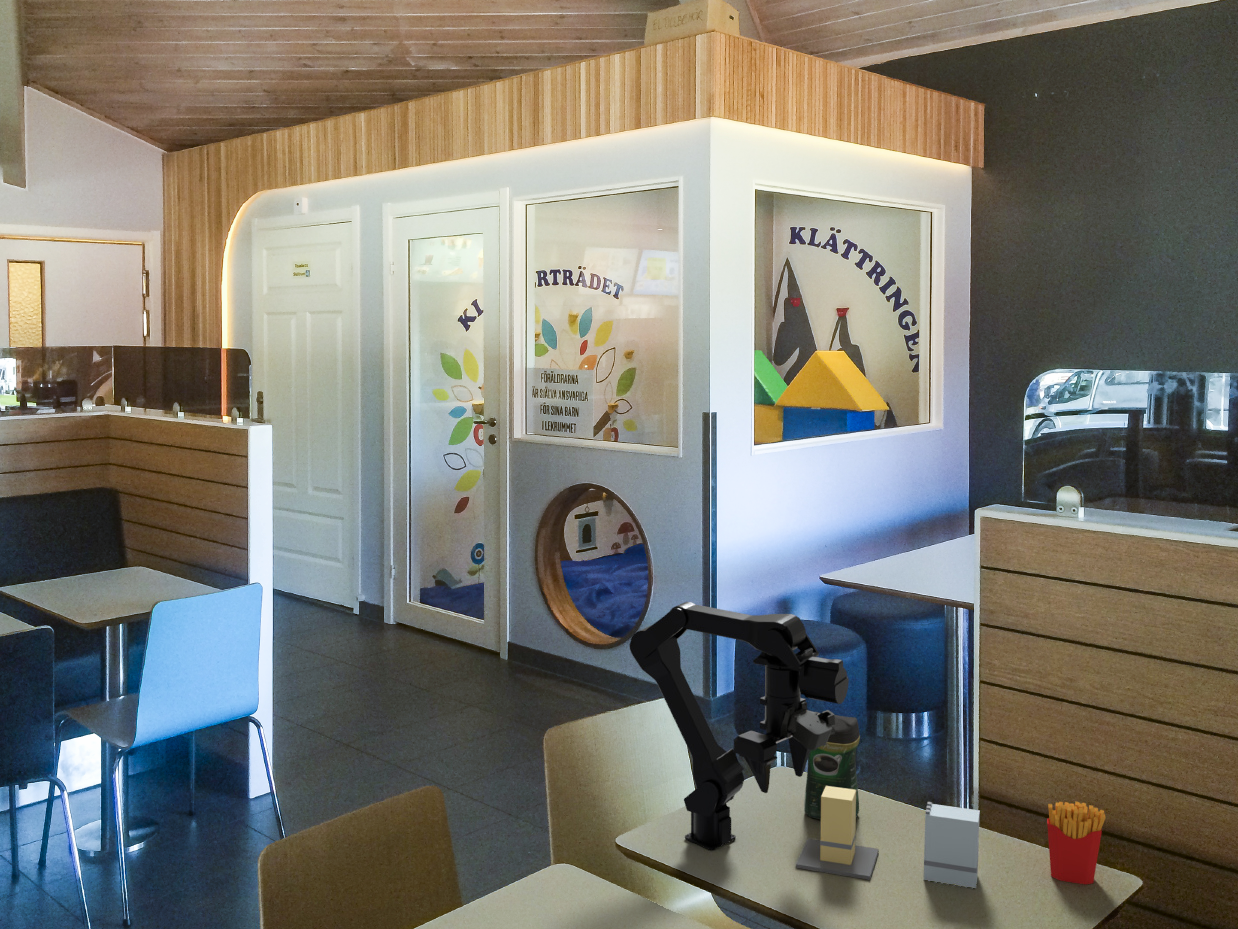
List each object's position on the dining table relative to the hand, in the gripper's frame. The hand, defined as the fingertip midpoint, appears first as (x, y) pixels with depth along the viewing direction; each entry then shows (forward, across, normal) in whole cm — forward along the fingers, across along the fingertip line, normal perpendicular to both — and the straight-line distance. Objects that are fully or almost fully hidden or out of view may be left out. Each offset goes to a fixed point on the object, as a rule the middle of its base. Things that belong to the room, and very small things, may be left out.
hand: (781, 784), depth 183 cm
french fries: (+13, +28, -37) cm, 48 cm away
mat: (+13, +6, -7) cm, 16 cm away
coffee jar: (+13, +20, +4) cm, 24 cm away
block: (+12, +6, -7) cm, 16 cm away
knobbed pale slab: (+13, +14, -23) cm, 30 cm away
